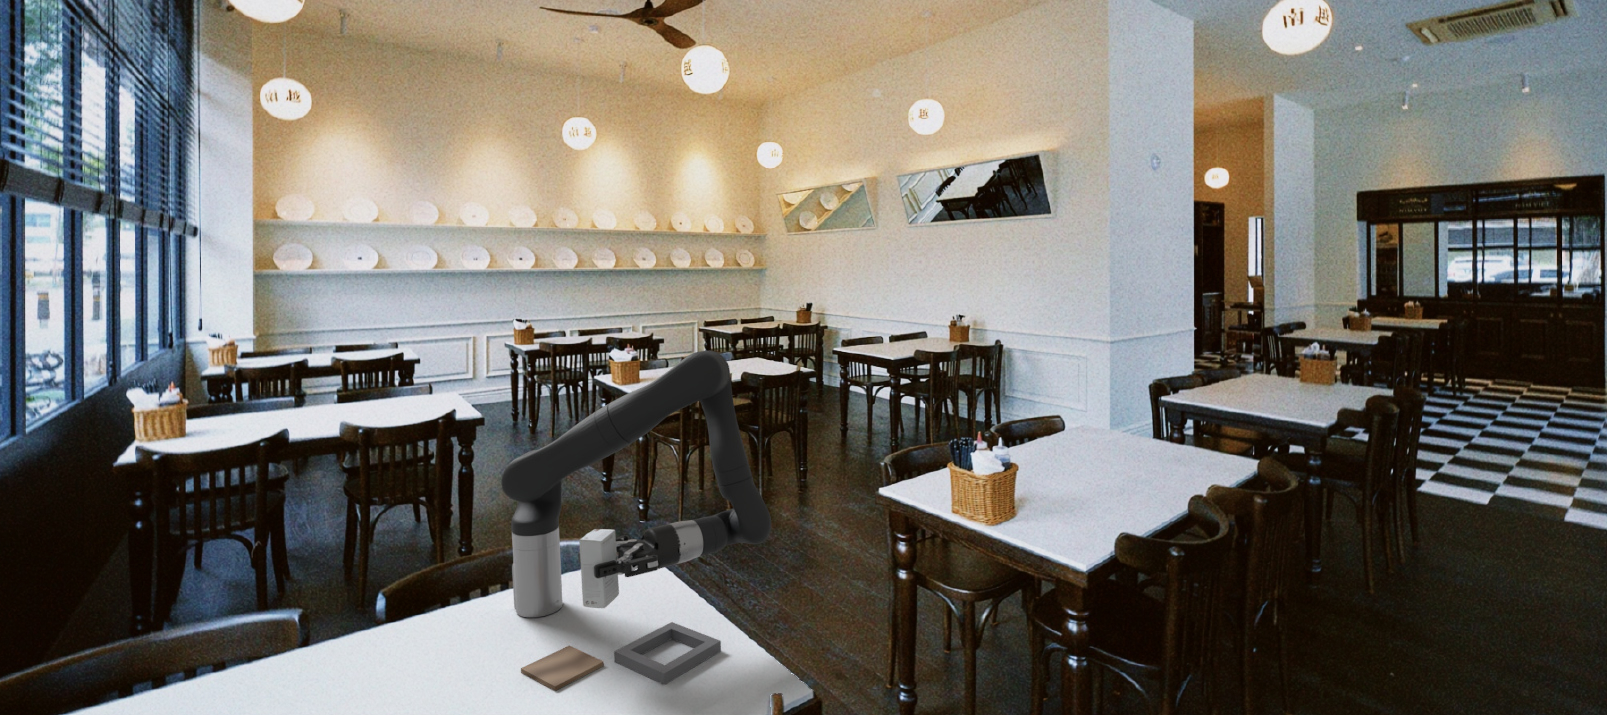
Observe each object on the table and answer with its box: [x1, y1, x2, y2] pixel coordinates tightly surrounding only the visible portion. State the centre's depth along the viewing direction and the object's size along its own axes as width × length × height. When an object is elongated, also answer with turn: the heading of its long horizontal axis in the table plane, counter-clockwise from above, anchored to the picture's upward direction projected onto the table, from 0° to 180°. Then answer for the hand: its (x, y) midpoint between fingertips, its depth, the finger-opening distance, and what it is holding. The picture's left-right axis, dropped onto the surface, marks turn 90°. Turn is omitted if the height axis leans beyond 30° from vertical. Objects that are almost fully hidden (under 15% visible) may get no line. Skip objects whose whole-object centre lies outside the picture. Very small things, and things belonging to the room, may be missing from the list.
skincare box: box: [578, 528, 620, 609], centre depth 130 cm, size 6×4×12 cm
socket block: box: [613, 621, 722, 686], centre depth 135 cm, size 13×14×2 cm
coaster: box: [520, 645, 605, 692], centre depth 131 cm, size 10×10×1 cm
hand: (587, 565), depth 128 cm, fingers closed on skincare box, 7 cm apart
